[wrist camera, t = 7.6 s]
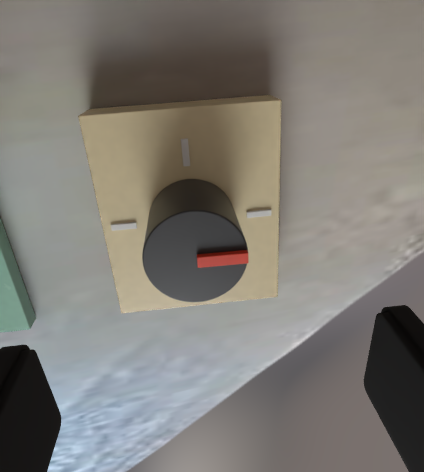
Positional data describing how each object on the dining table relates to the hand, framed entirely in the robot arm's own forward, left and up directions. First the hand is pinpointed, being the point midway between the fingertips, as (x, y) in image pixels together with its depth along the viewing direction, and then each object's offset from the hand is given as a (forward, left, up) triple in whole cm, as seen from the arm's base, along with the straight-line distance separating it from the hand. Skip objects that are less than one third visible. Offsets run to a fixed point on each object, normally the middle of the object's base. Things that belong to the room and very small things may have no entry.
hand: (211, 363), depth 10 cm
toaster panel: (+1, 0, -14) cm, 14 cm away
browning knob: (+1, 0, -11) cm, 11 cm away
